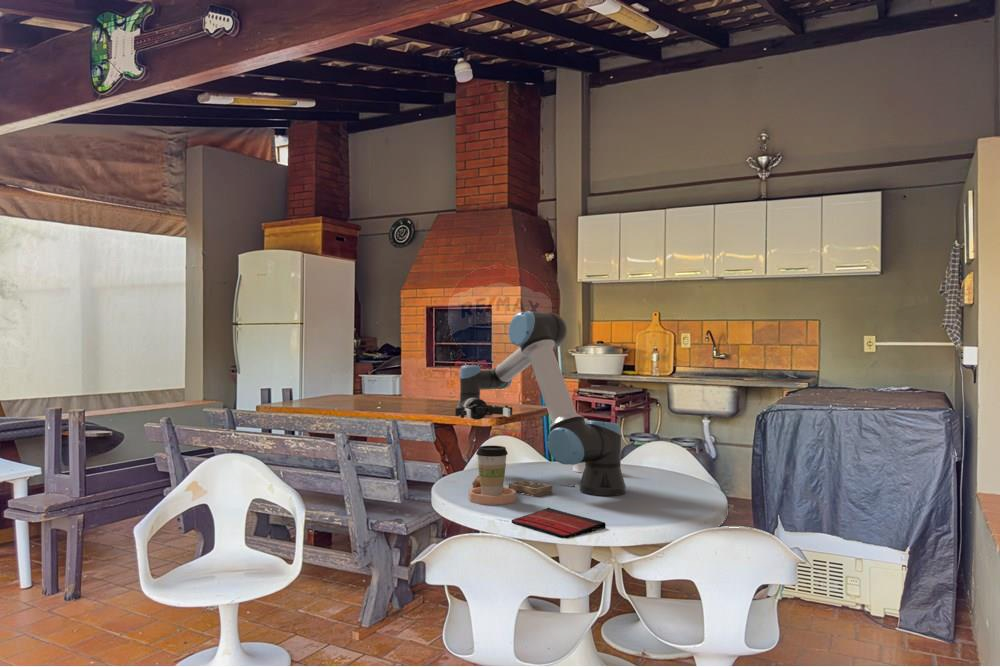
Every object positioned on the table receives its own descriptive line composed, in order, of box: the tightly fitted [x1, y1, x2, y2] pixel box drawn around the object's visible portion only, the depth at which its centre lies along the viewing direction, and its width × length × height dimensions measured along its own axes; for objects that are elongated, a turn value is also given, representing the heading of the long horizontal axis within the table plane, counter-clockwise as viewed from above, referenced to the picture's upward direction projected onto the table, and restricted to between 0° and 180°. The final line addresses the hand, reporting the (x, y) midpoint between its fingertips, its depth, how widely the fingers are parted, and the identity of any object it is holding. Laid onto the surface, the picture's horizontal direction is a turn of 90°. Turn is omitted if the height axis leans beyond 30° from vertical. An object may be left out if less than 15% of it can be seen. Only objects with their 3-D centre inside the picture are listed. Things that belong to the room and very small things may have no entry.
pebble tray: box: [508, 479, 553, 497], centre depth 226 cm, size 12×8×3 cm, turn 44°
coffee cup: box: [476, 445, 509, 496], centre depth 215 cm, size 10×10×15 cm
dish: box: [467, 486, 517, 506], centre depth 215 cm, size 14×14×2 cm
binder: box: [511, 507, 607, 539], centre depth 185 cm, size 16×2×21 cm
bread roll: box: [471, 475, 481, 488], centre depth 228 cm, size 10×10×8 cm
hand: (489, 413), depth 232 cm, fingers open, 13 cm apart
